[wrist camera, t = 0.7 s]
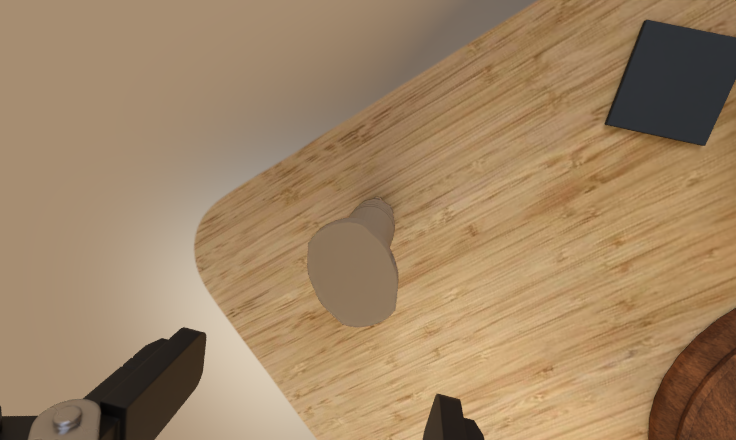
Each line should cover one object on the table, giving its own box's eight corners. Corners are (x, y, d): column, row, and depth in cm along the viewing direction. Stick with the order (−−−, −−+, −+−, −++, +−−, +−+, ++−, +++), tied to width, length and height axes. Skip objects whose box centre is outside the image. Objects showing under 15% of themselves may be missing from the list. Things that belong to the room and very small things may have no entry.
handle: (364, 250, 37) (334, 335, 22) (340, 189, 35) (291, 238, 21) (411, 235, 36) (411, 314, 21) (388, 172, 34) (372, 211, 20)
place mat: (643, 20, 29) (646, 19, 29) (749, 41, 29) (753, 41, 28) (604, 124, 31) (606, 124, 31) (701, 145, 31) (705, 145, 31)
